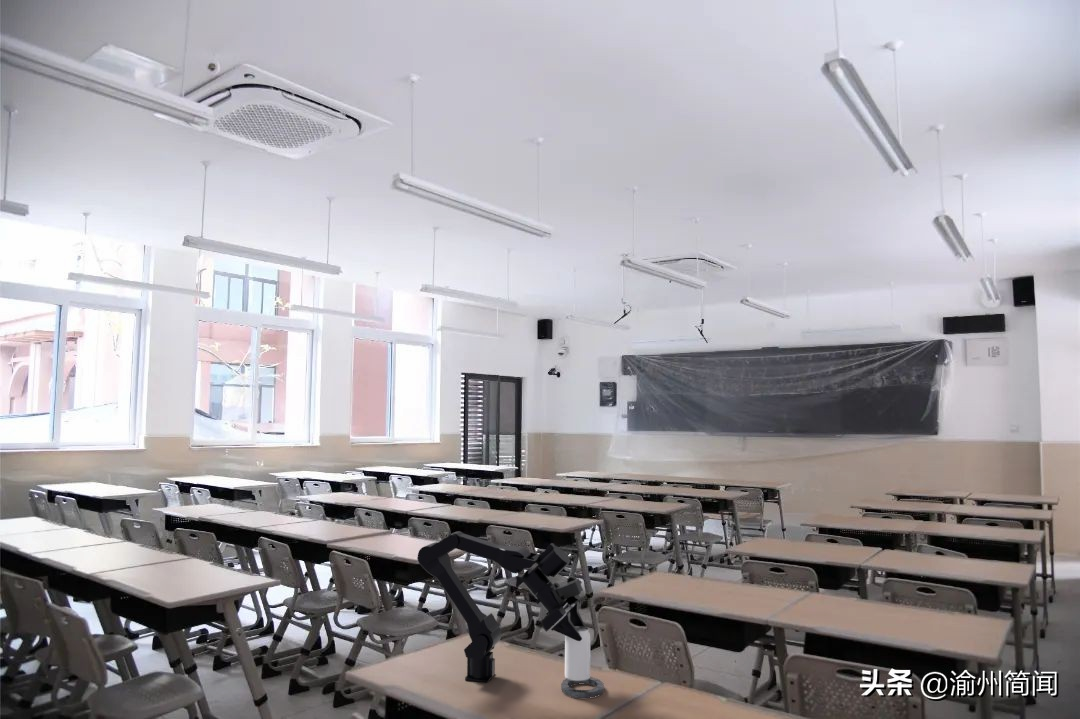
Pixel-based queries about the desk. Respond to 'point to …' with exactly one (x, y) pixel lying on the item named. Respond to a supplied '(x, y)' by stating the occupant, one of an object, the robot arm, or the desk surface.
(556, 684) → the desk surface
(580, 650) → the can
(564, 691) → the collar
